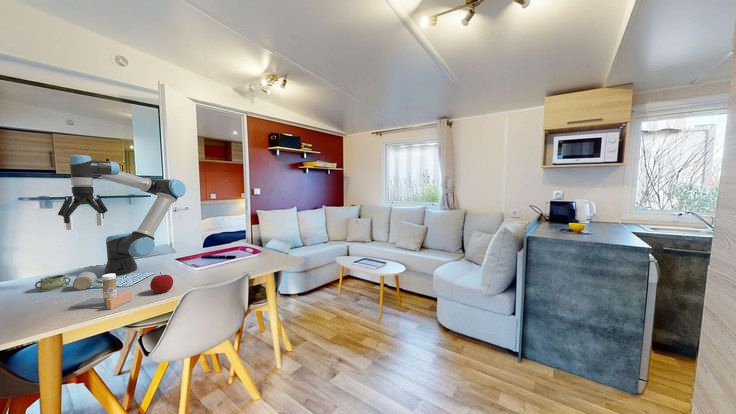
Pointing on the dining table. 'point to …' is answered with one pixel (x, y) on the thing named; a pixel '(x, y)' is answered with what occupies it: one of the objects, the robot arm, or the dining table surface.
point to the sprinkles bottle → (109, 286)
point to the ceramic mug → (86, 281)
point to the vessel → (52, 283)
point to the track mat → (92, 304)
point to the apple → (161, 283)
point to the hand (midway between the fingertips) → (85, 227)
